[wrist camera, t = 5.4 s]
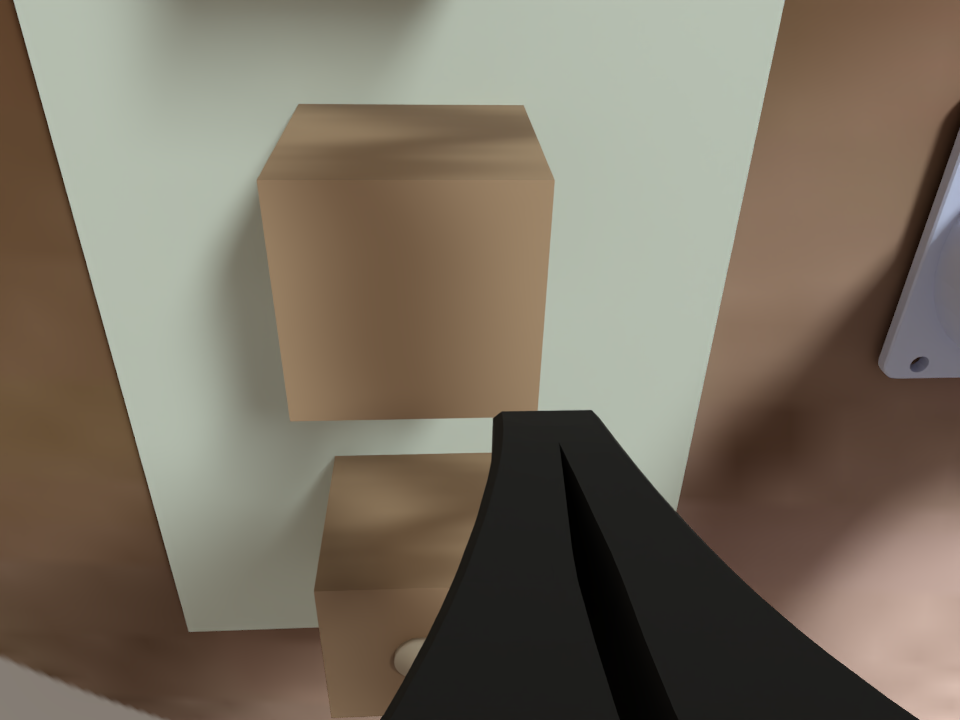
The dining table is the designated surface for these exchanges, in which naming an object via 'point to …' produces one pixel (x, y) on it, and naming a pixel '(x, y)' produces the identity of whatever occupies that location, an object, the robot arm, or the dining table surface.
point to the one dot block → (389, 566)
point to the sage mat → (243, 258)
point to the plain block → (408, 260)
